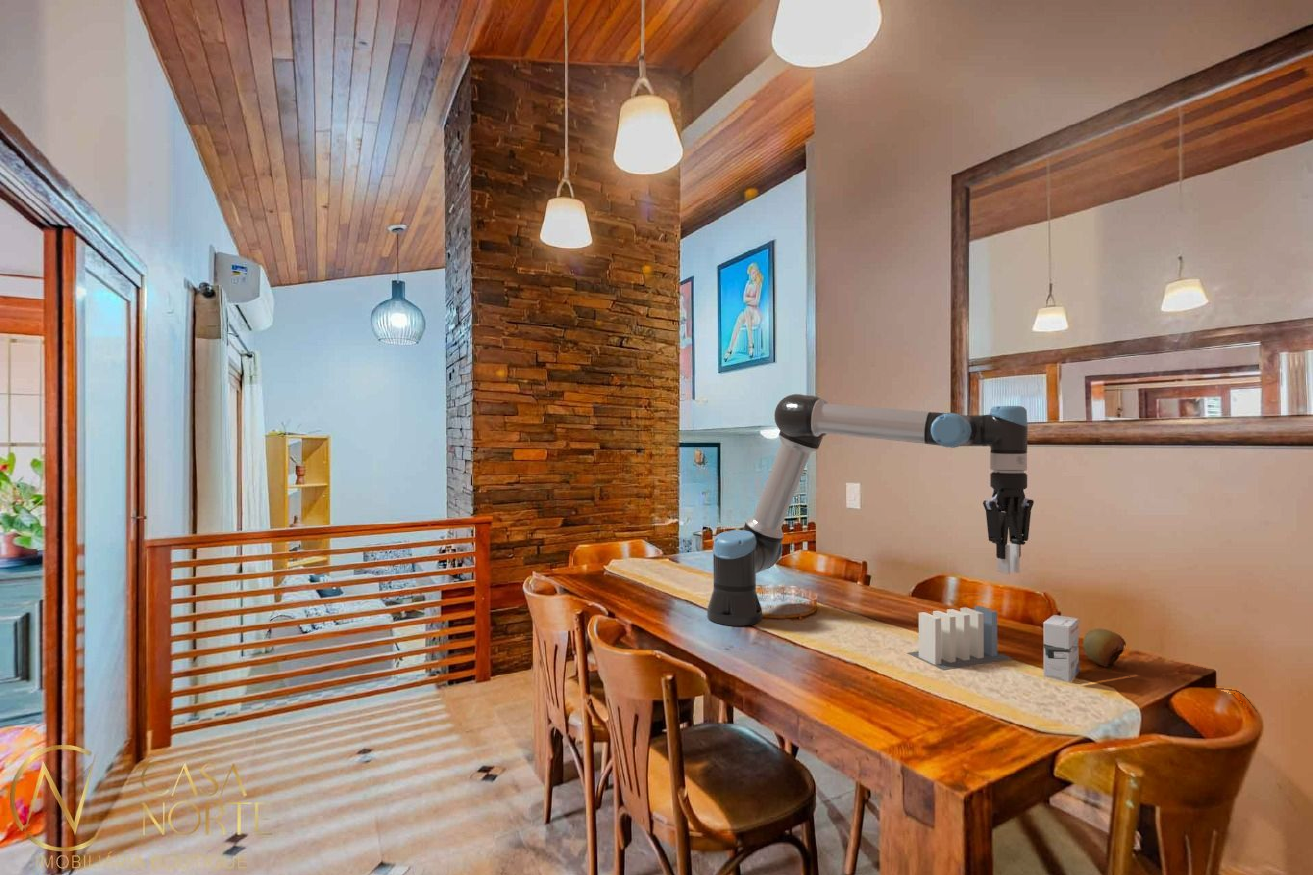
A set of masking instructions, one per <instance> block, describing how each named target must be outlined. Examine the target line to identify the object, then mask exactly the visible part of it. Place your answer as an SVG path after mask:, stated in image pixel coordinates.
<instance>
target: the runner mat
mask: <svg viewBox="0 0 1313 875" xmlns="http://www.w3.org/2000/svg"><path fill="white" fill-rule="evenodd" d="M907 654H908V655H910V656H912V657H914V658H916V659H918V660H921V661H923V662H925V663H926V664H929V665H932V666H933V667H935V668H937V669H939V670H942V671H948V670H954V669H955V670H956V669H962V668H969V667H973V666H981V665H987V664H993V663H999V662H1000V663H1001V662H1006V661H1007V662H1008V661H1012V660H1013V661H1014V660H1015V658H1013V657H1010V656H1007V655H1005V654H1003V653H1000V652H997V656H990V655H987V654H985V653H984V658H976V657H974V656H971V655H970V660H962V659H960V658H957V657H956V662H951V663H950V662H947V661H945V660H943V659H941V664H938V665H935V664H933V663H930V662H928V661H926V660H924V659H922V658H920V657H919V650H917V651H912V652H911V651H910V652H907Z"/></svg>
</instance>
